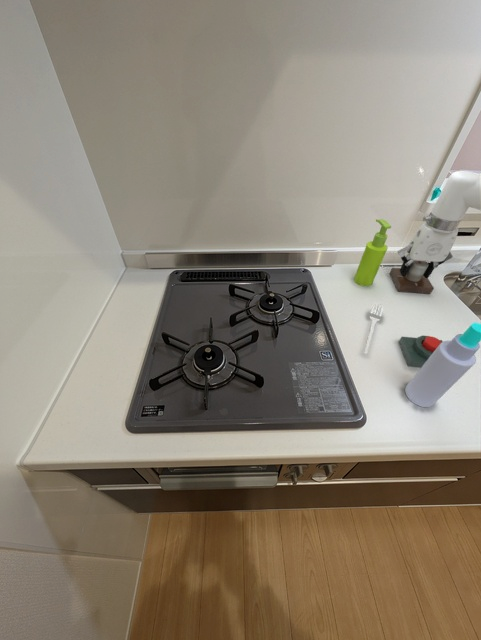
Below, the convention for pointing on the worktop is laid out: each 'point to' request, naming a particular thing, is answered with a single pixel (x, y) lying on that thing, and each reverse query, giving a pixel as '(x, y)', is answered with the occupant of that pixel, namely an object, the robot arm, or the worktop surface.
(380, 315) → the fork
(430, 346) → the button
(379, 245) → the soap dispenser
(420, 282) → the brown flat block
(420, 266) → the dial
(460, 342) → the spray bottle
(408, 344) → the button housing
